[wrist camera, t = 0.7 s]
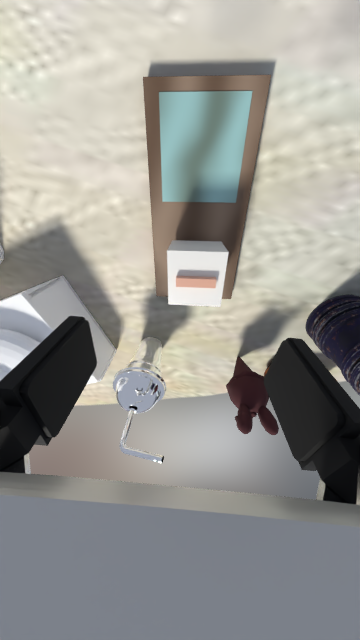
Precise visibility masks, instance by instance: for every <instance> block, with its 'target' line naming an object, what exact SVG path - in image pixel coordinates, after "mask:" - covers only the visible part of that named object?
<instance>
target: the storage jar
mask: <svg viewBox="0 0 360 640" xmlns="http://www.w3.org/2000/svg"><path fill="white" fill-rule="evenodd" d="M306 331H307V334H308V335H309V336H310V337H311V338H312V339H313V341H314V343H315V344H316V345H317V347H318V348H319V349H320V350H321V351H322V352H323V354H325V355H326V356H327V357H328V358H329V359H331V360H333V362H334V363H335V364H336V365H337V366H338V367H339V368H340V370H341V372H342V374H343V376H344V378H345V379H346V381H347V382H349V383H350V384H351V386H352V387H353V389H354V390H355V391H356V392H357V393H358V394H359V395H360V297H359V296H355V295H342V296H337V297H334V298H331V299H329V300H327V301H325V302H323V303H322V304H320V305H319V306H318V307H317V308H315V309H314V310H313V312H312V313H311V314H310V315H309V317H308V319H307V322H306Z"/></svg>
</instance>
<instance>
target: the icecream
mask: <svg viewBox="0 0 360 640" xmlns="http://www.w3.org/2000/svg"><path fill="white" fill-rule="evenodd" d="M226 387H227V390H228V393H229V396H230V399H231V401H232V402H233V403H234V405H236V407H237V408H238V409H239V410H238V416H236V417H235V420H236V422H237V427H238V429H239V430H240V431H241V432H242V433H244V434H248V433H249V432H250V431H251V429H252V418H253V417H255V416H256V415H257V414H256V413H258V416H259V419H260V422H261V424H262V425H263V427H264V428H265V430H266V431H267V432H268V433H270V434H271V435H276V434H277V433H278V429H279V428H278V425H277V421H276V419H275V418H274V416H273V415H272V413H271V412H270V411H269V410H268V409H267V408H266V405H267V402H268V399H269V395H268V393H267V390H266V388H265V385H264V376H261V375H259V374H257V373H256V372H253V371H252V370H251V369H250V368H249V367H248V366H247V365H246V364H245V363H244V361H243V360H242V359H241V358H240V357H237V361H236V365H235V370H234V375H233V377H232V378H231V380H230V381H229V383H228V384H227V385H226Z"/></svg>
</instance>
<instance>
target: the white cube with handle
mask: <svg viewBox="0 0 360 640" xmlns="http://www.w3.org/2000/svg"><path fill="white" fill-rule="evenodd" d="M228 253H229V252H228V250H227V249H226V248H225V246H224V245H223V243H222V242H221V241H181V240H172V242H171V244H170V246H169V248H168V250H167V269H168V304H169V305H194V306H218V307H221V300H222V293H223V287H224V280H225V273H226V266H227V260H228Z"/></svg>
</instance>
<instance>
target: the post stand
mask: <svg viewBox="0 0 360 640" xmlns="http://www.w3.org/2000/svg"><path fill="white" fill-rule="evenodd" d="M270 78H271V75H233V76H171V77H143V86H144V102H145V118H146V134H147V150H148V166H149V182H150V199H151V215H152V231H153V247H154V263H155V279H156V295H157V296H165V297H168V269H167V250H168V248H169V246H170V244H171V242H172V240H181V241H221V242H222V243H223V245H224V246H225V248H226V249H227V250H228V252H229V253H228V260H227V266H226V273H225V280H224V287H223V293H222V299H231V296H232V290H233V285H234V279H235V273H236V268H237V262H238V257H239V251H240V246H241V240H242V234H243V229H244V223H245V218H246V212H247V207H248V201H249V195H250V190H251V184H252V179H253V173H254V168H255V162H256V156H257V151H258V145H259V140H260V134H261V129H262V123H263V117H264V112H265V106H266V101H267V95H268V90H269V84H270Z"/></svg>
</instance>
